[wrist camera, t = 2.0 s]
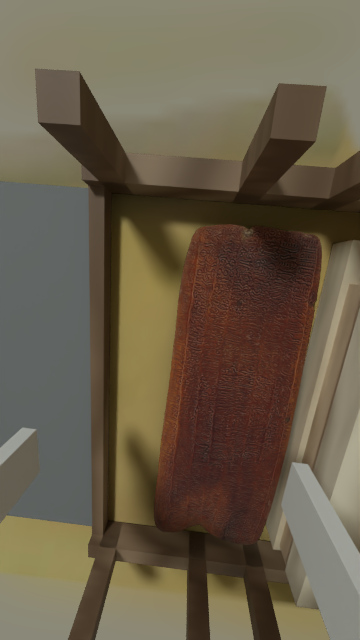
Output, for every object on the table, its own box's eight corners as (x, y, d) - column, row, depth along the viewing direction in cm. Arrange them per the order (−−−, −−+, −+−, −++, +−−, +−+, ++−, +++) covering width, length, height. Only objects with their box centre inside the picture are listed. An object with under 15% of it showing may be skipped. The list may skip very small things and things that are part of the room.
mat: (-23, 504, 21) (-29, 510, 21) (-79, 178, 15) (-90, 174, 14) (95, 519, 21) (92, 526, 20) (93, 191, 14) (89, 188, 14)
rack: (97, 530, 21) (53, 653, 14) (96, 166, 14) (5, 66, 7) (356, 564, 20) (438, 711, 14) (500, 196, 13) (834, 117, 6)
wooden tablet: (257, 534, 20) (263, 557, 19) (153, 517, 21) (149, 538, 19) (340, 236, 14) (359, 232, 12) (186, 219, 14) (185, 213, 13)
